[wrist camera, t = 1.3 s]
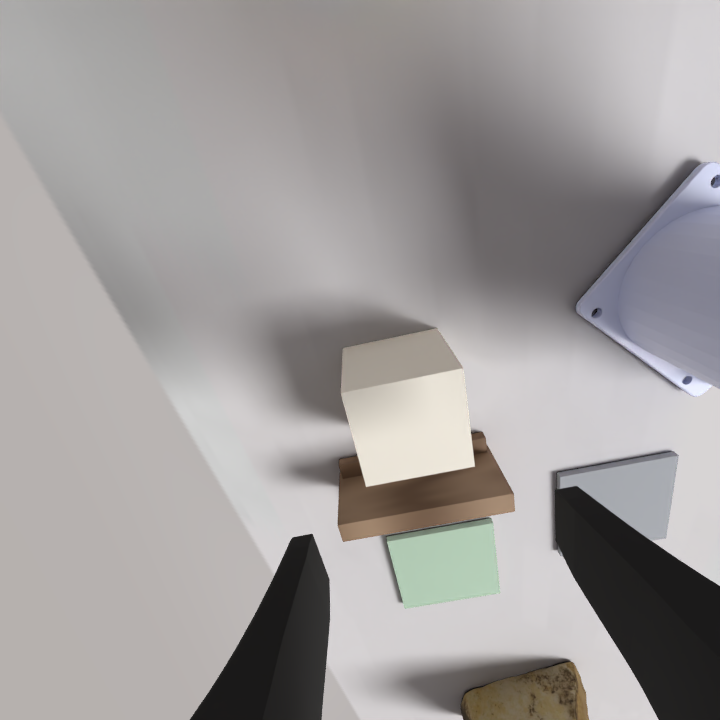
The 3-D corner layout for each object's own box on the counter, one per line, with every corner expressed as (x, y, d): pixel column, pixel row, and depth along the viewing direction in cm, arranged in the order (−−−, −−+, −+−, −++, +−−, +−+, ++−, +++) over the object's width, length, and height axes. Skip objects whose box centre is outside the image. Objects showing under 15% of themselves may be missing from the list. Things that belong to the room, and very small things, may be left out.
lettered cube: (436, 327, 20) (463, 368, 15) (448, 410, 22) (475, 468, 17) (342, 347, 20) (340, 393, 15) (363, 427, 22) (366, 489, 17)
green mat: (490, 518, 25) (493, 523, 24) (498, 587, 28) (500, 593, 27) (386, 536, 25) (386, 541, 25) (403, 603, 28) (404, 608, 28)
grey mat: (673, 451, 23) (678, 455, 23) (661, 533, 26) (665, 538, 25) (557, 472, 23) (560, 477, 23) (557, 550, 26) (560, 555, 26)
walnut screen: (485, 431, 22) (512, 478, 18) (489, 473, 23) (516, 525, 20) (335, 459, 23) (332, 511, 19) (347, 499, 24) (347, 554, 20)
